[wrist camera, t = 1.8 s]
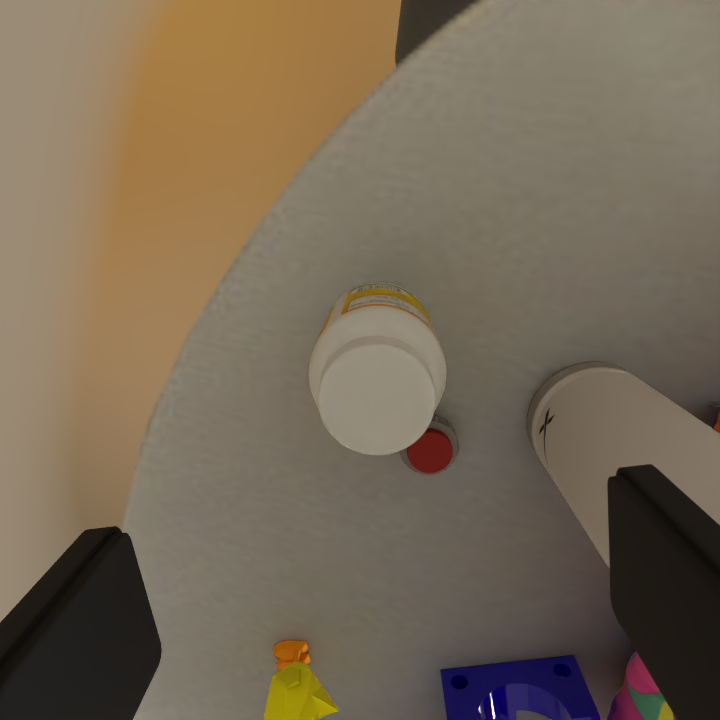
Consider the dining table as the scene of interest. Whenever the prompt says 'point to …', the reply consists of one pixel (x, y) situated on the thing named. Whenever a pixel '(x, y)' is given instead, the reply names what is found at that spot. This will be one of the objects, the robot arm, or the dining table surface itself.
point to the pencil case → (643, 683)
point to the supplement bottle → (377, 369)
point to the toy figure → (296, 686)
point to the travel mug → (618, 441)
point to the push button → (432, 448)
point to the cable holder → (518, 690)
